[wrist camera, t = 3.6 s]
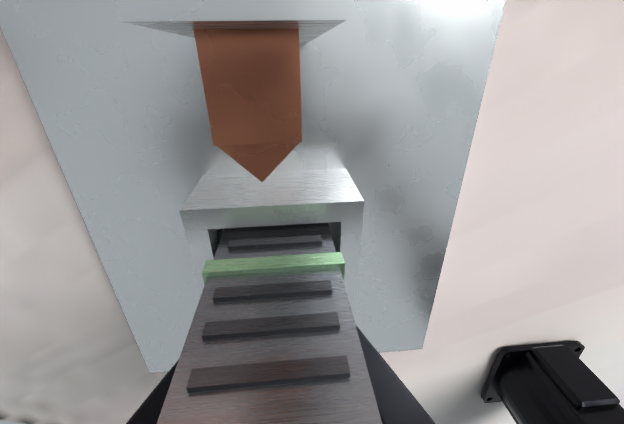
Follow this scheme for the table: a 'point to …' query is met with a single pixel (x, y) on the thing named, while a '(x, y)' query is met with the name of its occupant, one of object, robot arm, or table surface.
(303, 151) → the base
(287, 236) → the block
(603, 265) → the table surface
